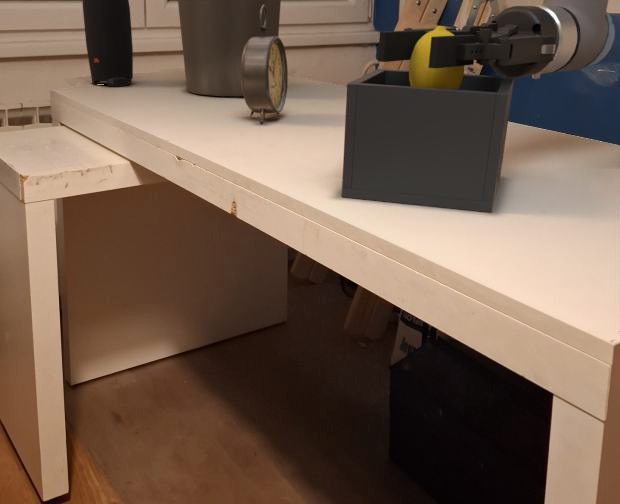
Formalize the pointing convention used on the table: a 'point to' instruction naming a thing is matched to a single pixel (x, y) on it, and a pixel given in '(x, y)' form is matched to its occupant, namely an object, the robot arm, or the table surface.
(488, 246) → the table surface
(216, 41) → the waste basket
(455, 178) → the bin
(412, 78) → the lemon
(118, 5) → the portable speaker
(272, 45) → the alarm clock
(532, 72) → the robot arm
